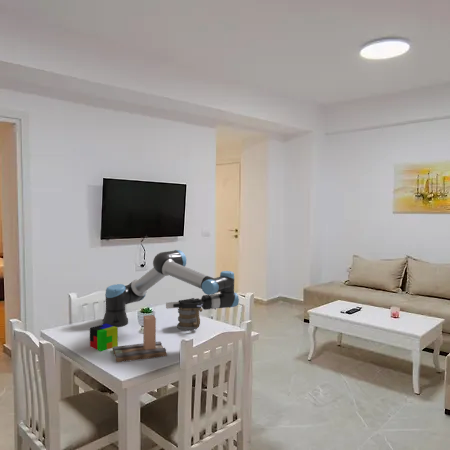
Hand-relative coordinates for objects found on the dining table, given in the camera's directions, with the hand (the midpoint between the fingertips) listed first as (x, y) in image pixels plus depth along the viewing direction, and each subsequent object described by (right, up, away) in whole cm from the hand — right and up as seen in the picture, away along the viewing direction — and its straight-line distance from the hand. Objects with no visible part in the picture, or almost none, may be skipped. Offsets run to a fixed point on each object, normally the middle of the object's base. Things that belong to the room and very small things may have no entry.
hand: (166, 305), depth 209 cm
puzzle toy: (-33, -23, +5) cm, 41 cm away
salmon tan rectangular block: (-8, -21, -2) cm, 23 cm away
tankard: (+10, -21, +37) cm, 43 cm away
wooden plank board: (-13, -23, -3) cm, 27 cm away
